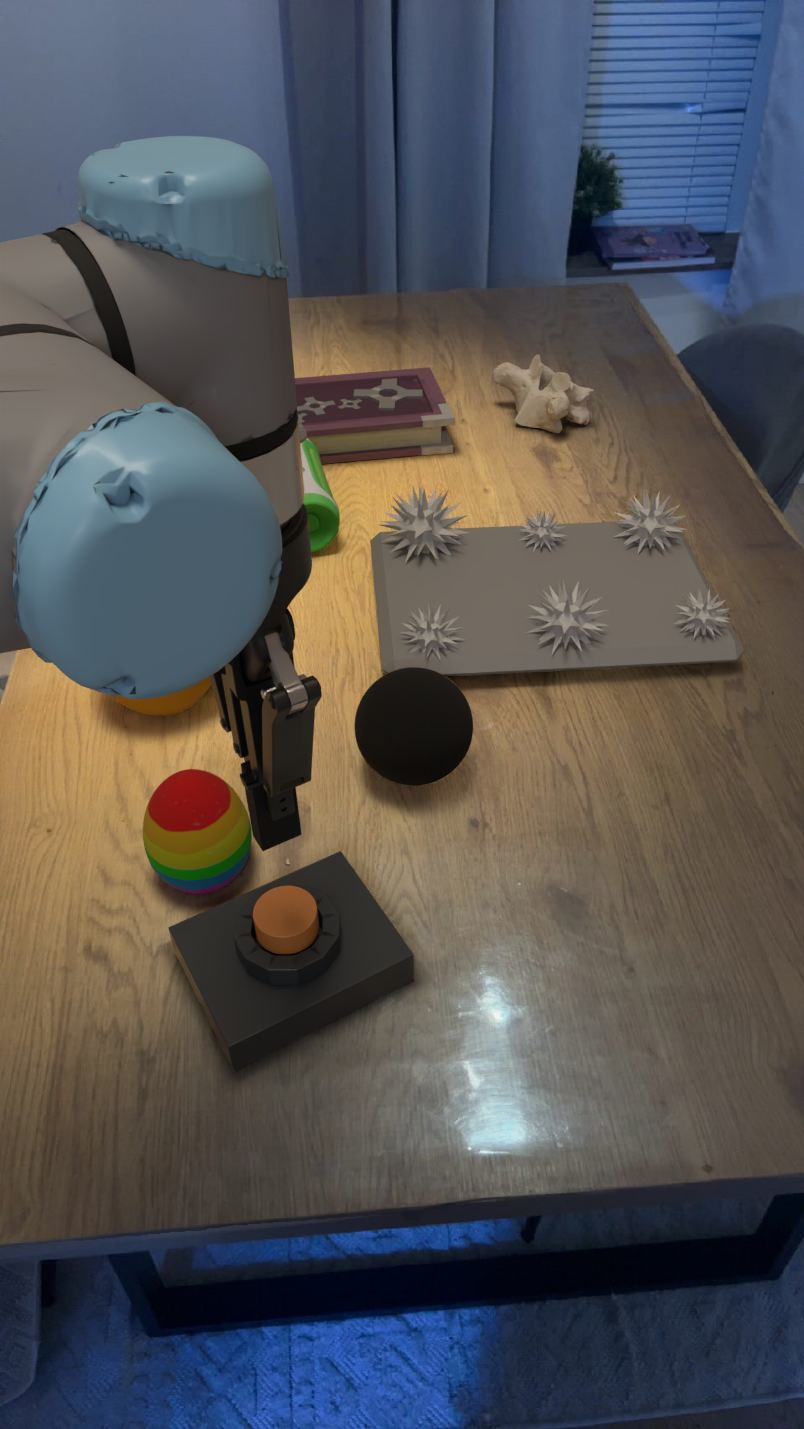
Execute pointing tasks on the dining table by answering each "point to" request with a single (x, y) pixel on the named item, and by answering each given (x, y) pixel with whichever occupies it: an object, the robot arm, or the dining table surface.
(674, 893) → the dining table surface
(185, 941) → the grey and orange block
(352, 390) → the book
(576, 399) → the decorative object
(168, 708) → the apple
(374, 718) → the decorative ball
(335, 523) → the speaker
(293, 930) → the orange button
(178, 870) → the decorative egg
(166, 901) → the dining table surface
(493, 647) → the decorative tray
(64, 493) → the robot arm
